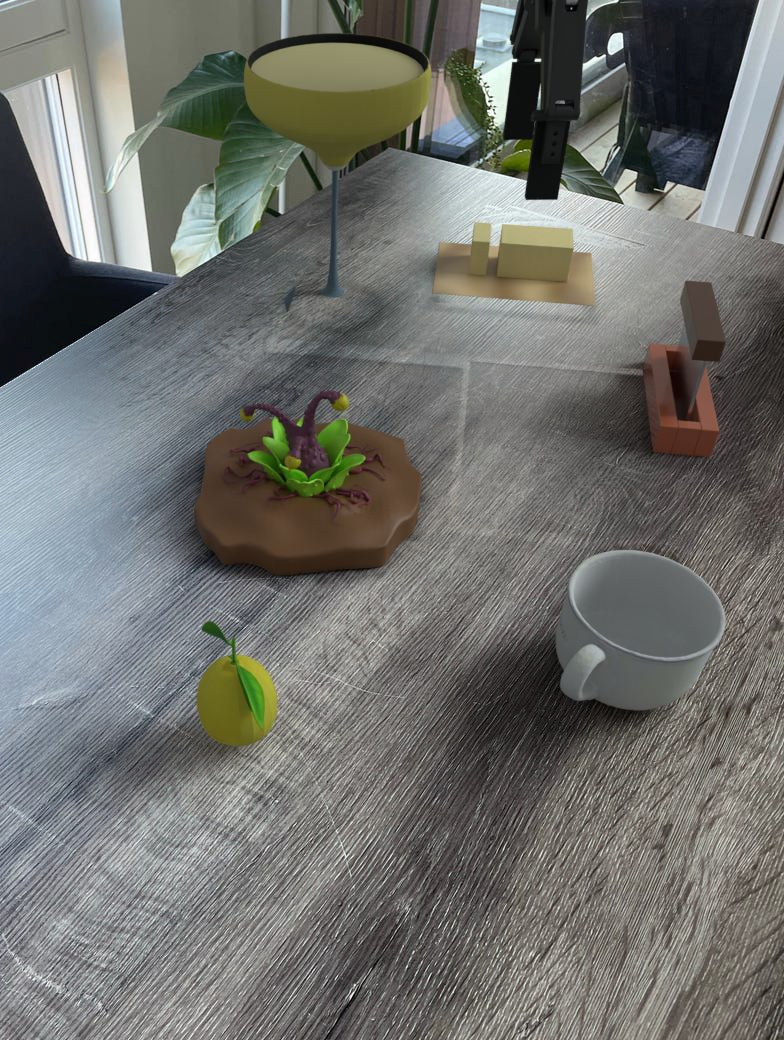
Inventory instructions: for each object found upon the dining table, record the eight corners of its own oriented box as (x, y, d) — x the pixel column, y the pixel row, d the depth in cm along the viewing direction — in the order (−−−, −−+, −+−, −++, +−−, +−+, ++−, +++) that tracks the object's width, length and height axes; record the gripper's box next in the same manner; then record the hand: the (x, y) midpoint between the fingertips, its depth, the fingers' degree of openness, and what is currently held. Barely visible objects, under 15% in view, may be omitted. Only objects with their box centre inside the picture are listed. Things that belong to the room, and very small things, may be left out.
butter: (566, 262, 121) (572, 228, 118) (567, 282, 117) (573, 248, 114) (497, 257, 122) (502, 223, 119) (496, 276, 118) (501, 242, 115)
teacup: (618, 606, 82) (642, 529, 77) (727, 691, 76) (762, 613, 70) (486, 680, 77) (501, 602, 71) (592, 777, 71) (617, 700, 65)
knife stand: (692, 378, 106) (701, 347, 103) (708, 463, 96) (719, 431, 93) (640, 374, 106) (648, 342, 104) (651, 458, 96) (660, 425, 94)
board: (589, 264, 124) (591, 252, 122) (593, 318, 115) (595, 305, 114) (438, 253, 125) (439, 241, 124) (430, 305, 117) (432, 292, 115)
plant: (422, 583, 84) (434, 471, 76) (183, 573, 85) (171, 461, 77) (418, 441, 98) (429, 333, 90) (214, 433, 99) (206, 326, 91)
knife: (682, 380, 104) (711, 282, 97) (693, 443, 97) (726, 341, 89) (657, 378, 104) (685, 280, 97) (666, 441, 97) (697, 339, 89)
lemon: (208, 695, 76) (198, 595, 68) (286, 705, 75) (285, 606, 68) (185, 767, 71) (172, 668, 64) (268, 779, 70) (265, 680, 63)
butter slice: (487, 256, 122) (491, 223, 119) (485, 276, 118) (490, 242, 115) (470, 255, 122) (474, 221, 119) (468, 274, 118) (472, 240, 116)
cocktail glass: (341, 253, 126) (348, 21, 108) (445, 310, 116) (472, 65, 98) (220, 298, 118) (206, 55, 100) (321, 363, 108) (325, 107, 90)
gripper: (498, -152, 87) (471, 117, 102) (548, -85, 69) (506, 227, 84) (587, -153, 87) (547, 116, 102) (660, -86, 69) (598, 226, 84)
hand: (528, 167), depth 93 cm, fingers open, 13 cm apart
